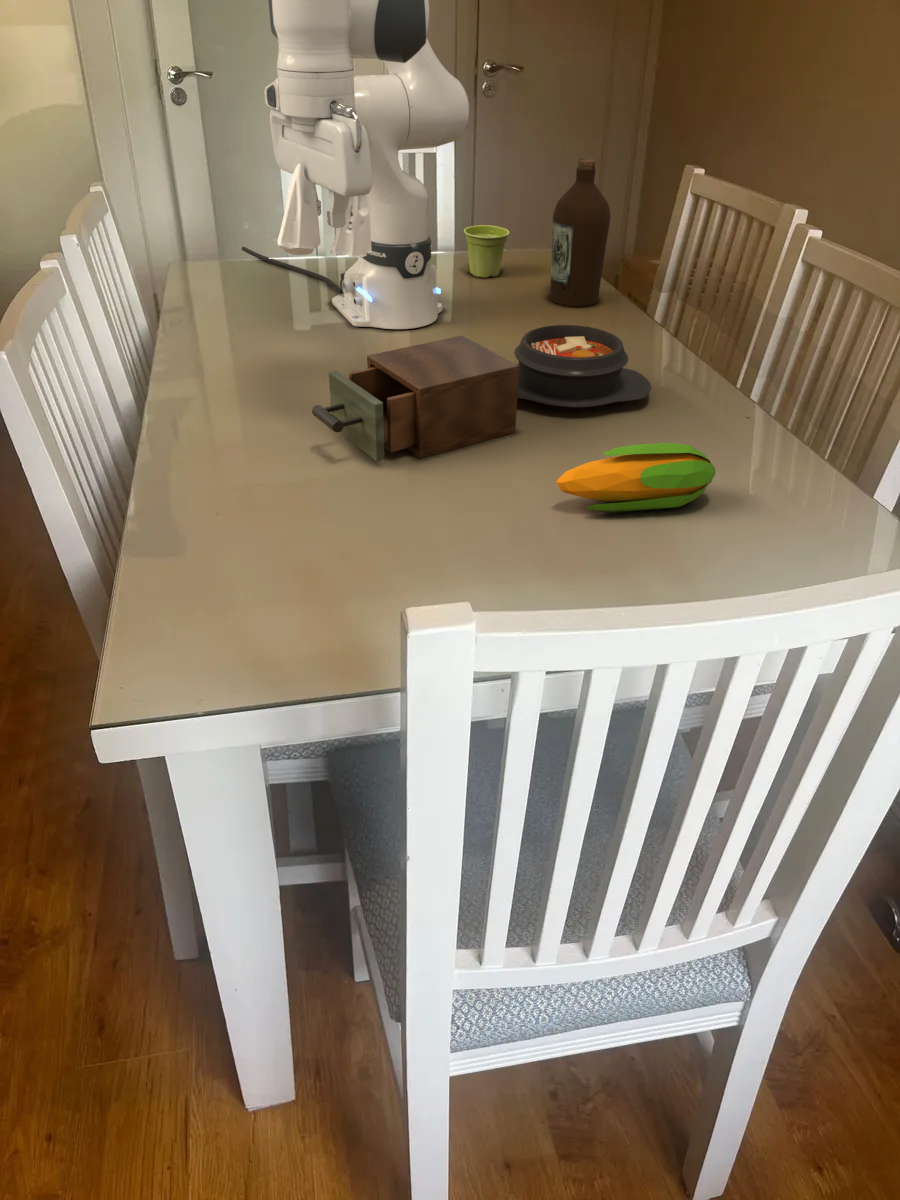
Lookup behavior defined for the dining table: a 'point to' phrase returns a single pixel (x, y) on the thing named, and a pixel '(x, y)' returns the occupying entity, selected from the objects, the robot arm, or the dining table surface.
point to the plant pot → (485, 249)
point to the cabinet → (454, 392)
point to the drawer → (370, 411)
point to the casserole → (576, 368)
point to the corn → (641, 477)
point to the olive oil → (579, 240)
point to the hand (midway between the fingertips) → (324, 220)
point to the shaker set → (304, 226)
